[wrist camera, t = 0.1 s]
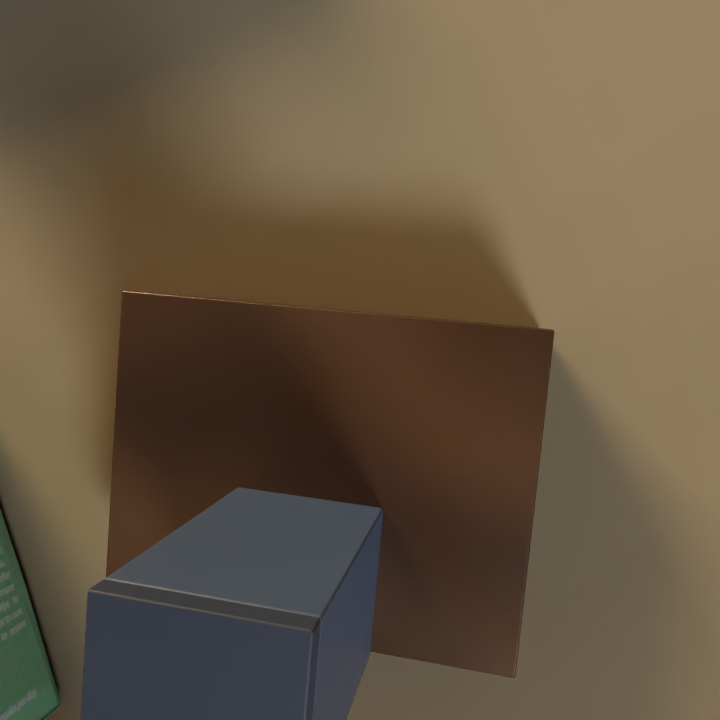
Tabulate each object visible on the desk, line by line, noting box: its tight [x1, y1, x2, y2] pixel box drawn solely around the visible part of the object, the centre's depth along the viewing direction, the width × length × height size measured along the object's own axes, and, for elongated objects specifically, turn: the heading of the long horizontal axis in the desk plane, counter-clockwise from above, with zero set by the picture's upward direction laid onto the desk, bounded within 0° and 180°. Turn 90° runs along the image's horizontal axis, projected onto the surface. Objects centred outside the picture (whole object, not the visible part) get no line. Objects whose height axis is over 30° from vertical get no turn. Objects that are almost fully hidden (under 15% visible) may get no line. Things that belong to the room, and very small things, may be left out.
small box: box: [81, 487, 383, 720], centre depth 17 cm, size 5×5×8 cm
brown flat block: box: [106, 291, 554, 678], centre depth 22 cm, size 10×13×3 cm
